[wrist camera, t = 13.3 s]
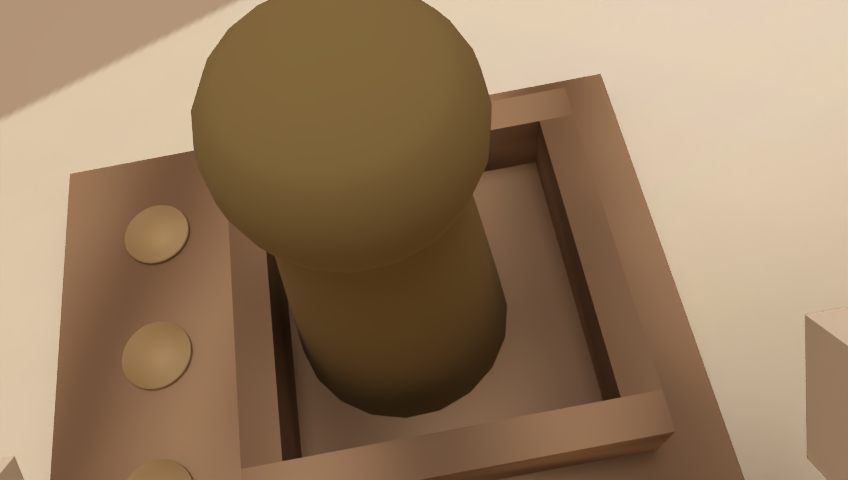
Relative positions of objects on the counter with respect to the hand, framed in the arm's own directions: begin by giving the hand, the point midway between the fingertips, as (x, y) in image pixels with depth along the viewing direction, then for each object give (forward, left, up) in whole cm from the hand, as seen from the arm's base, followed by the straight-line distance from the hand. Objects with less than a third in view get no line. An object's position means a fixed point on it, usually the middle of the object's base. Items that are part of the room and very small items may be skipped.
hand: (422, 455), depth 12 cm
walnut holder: (+2, -6, -8) cm, 10 cm away
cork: (0, -5, -8) cm, 9 cm away
